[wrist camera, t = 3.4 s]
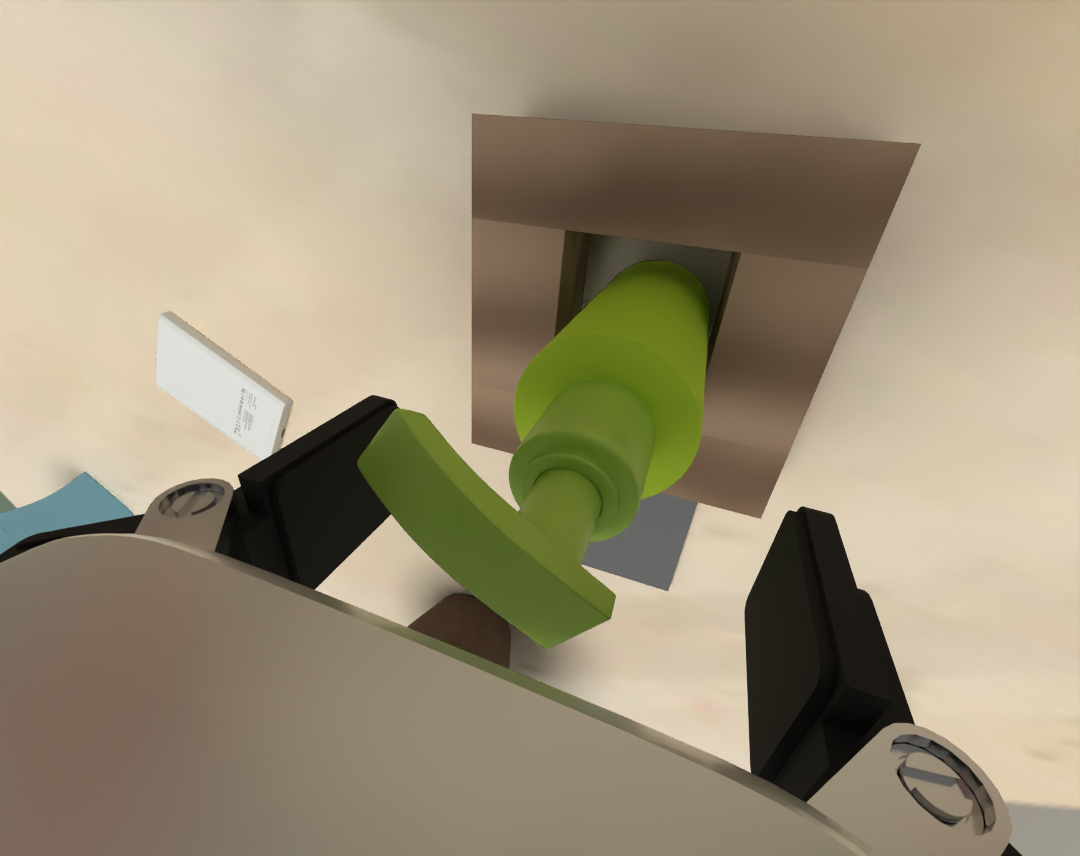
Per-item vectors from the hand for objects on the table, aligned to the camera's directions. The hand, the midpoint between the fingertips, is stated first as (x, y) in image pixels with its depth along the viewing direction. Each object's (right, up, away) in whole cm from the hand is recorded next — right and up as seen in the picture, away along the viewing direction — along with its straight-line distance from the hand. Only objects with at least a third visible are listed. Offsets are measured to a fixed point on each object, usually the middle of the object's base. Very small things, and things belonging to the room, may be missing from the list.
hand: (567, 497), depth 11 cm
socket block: (+5, +8, +14) cm, 17 cm away
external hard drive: (-28, +5, +29) cm, 41 cm away
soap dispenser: (+5, +8, +14) cm, 17 cm away
